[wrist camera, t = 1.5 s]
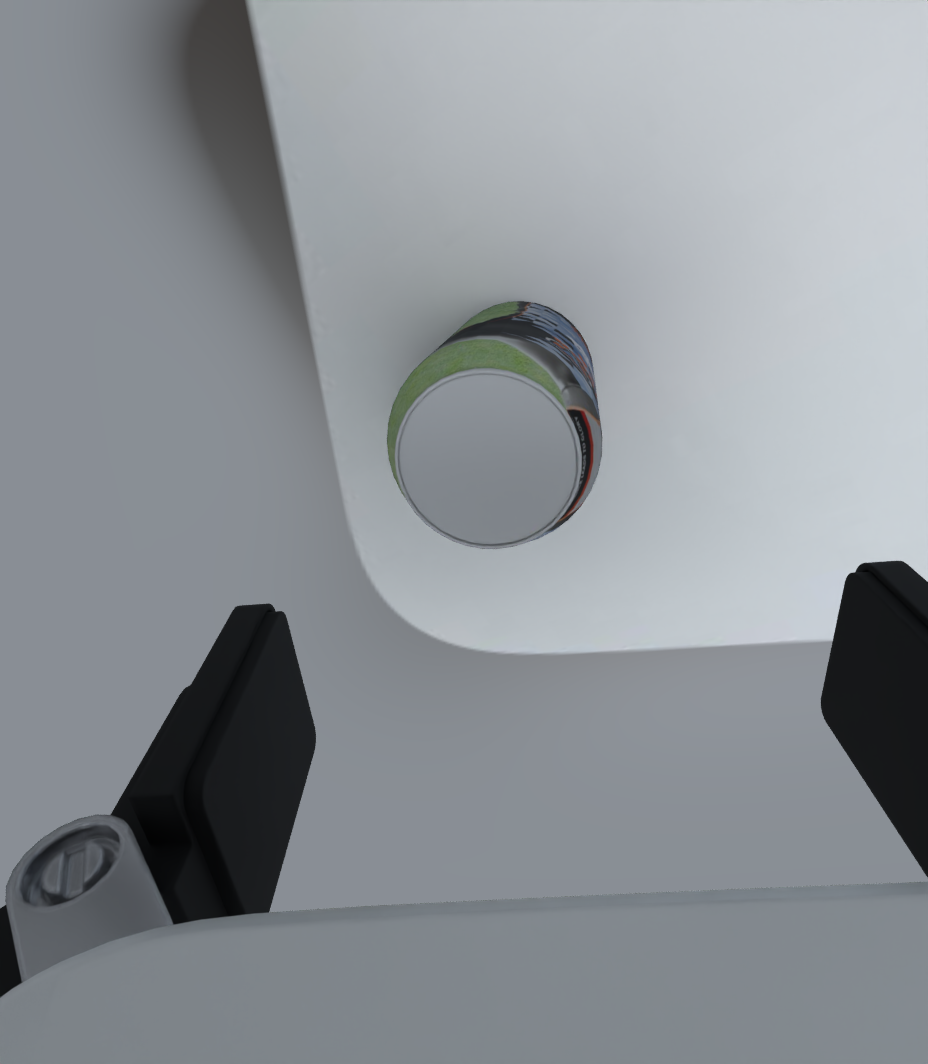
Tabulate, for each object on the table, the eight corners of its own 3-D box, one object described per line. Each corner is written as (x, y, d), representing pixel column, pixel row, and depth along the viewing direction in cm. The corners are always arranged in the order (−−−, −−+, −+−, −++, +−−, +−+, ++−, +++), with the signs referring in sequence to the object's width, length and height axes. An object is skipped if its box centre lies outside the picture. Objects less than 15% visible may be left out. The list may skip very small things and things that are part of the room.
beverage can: (564, 453, 29) (617, 607, 19) (400, 419, 29) (360, 560, 18) (608, 308, 27) (700, 395, 16) (427, 267, 26) (398, 329, 15)
